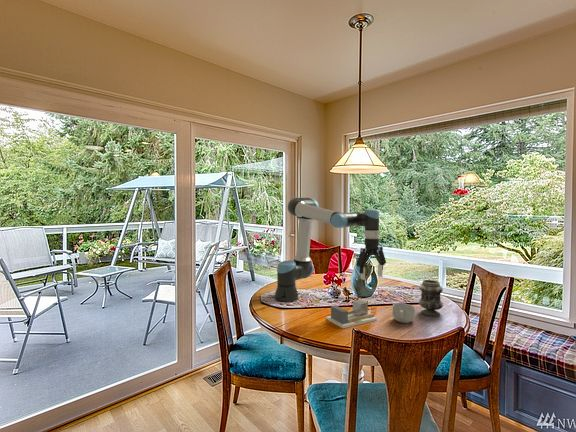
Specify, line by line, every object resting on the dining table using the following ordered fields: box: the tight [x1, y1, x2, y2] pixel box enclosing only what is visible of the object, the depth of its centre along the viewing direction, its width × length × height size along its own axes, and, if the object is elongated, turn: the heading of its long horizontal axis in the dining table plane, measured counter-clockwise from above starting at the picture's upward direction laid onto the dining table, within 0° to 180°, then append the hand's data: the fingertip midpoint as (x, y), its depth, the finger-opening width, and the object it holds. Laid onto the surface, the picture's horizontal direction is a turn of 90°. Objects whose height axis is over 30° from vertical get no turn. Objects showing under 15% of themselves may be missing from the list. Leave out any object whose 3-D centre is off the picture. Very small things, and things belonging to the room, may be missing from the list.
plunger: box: [352, 299, 371, 316], centre depth 162 cm, size 10×5×7 cm, turn 28°
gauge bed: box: [325, 304, 377, 329], centre depth 161 cm, size 14×22×7 cm, turn 118°
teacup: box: [392, 302, 416, 324], centre depth 157 cm, size 14×11×8 cm
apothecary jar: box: [418, 279, 444, 318], centre depth 169 cm, size 12×12×18 cm
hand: (371, 277), depth 166 cm, fingers open, 12 cm apart
